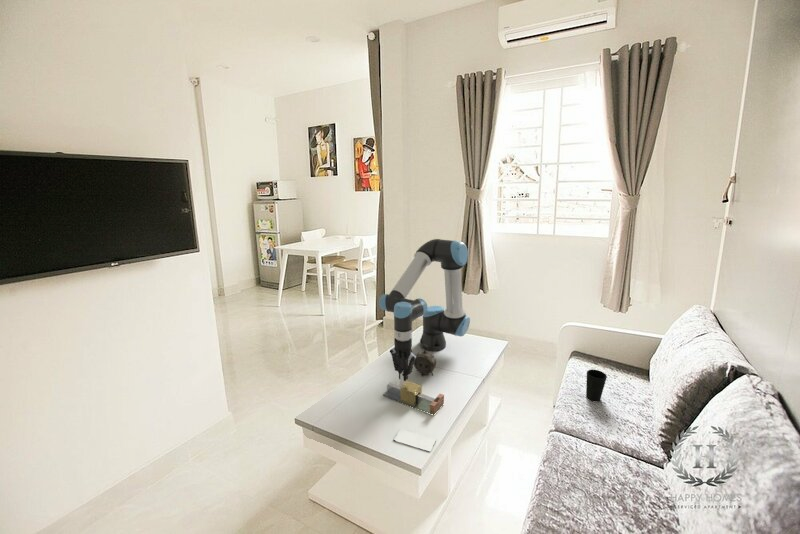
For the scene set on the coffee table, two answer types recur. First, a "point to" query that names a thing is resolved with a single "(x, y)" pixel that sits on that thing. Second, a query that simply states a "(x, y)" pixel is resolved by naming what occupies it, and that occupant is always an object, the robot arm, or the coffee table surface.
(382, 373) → the coffee table surface
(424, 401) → the rail
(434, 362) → the alarm clock
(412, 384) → the clip
